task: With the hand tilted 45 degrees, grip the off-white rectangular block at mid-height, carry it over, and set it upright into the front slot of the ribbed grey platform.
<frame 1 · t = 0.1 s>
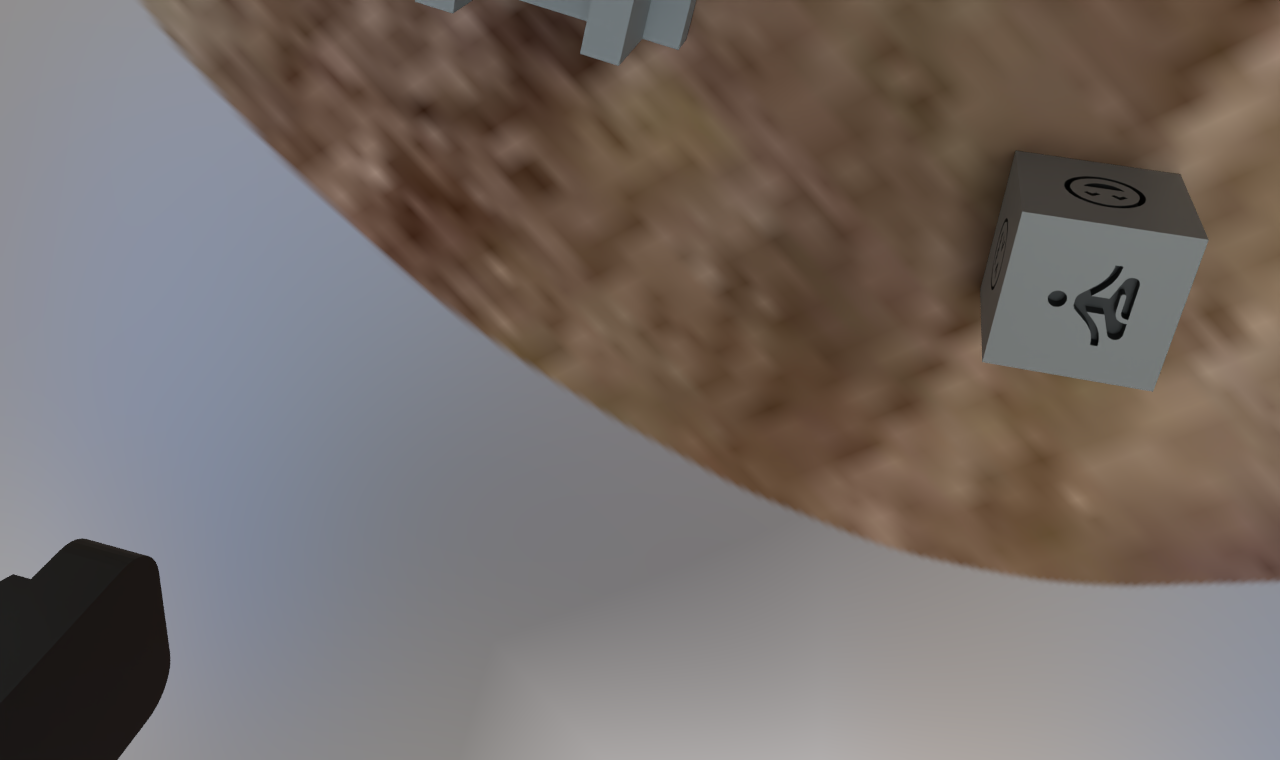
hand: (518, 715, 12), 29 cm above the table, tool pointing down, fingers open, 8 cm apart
dice cube: (1075, 231, 38), on the table
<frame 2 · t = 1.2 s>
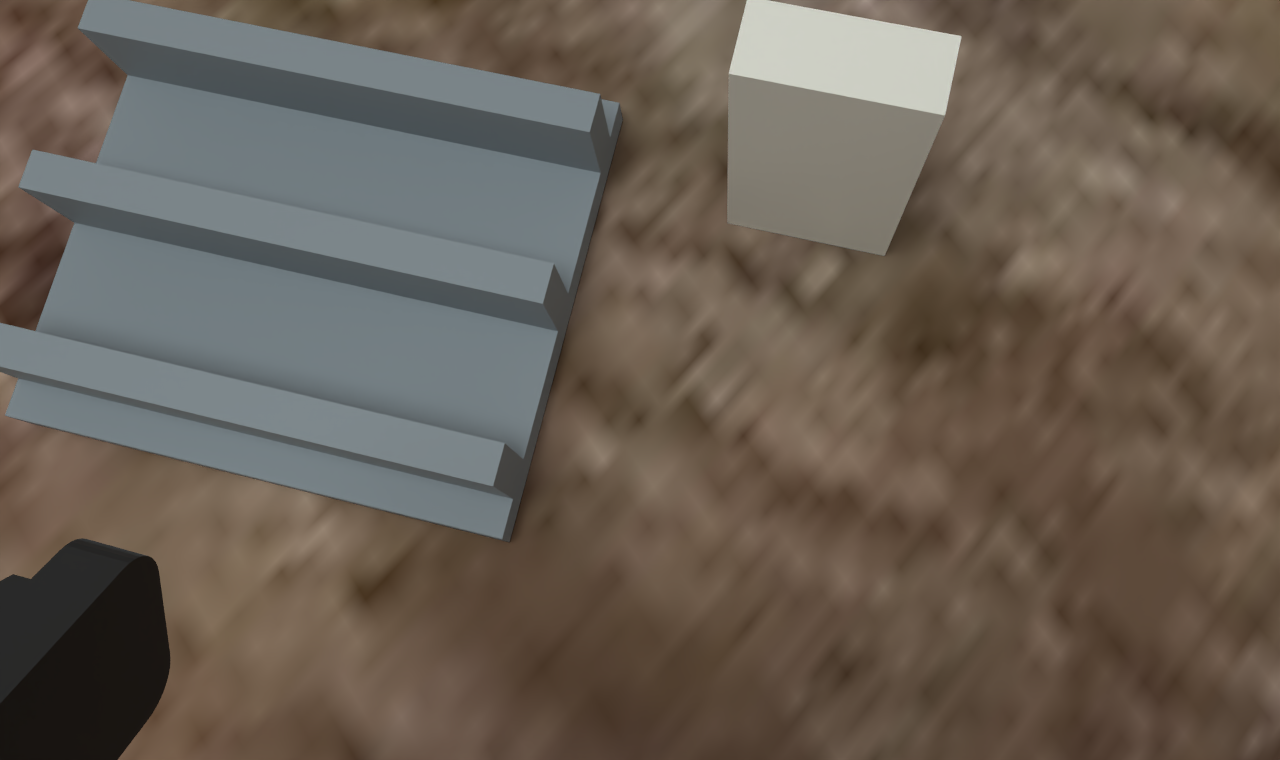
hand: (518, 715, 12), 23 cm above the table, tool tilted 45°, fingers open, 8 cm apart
ribbed grey platform: (328, 269, 37), on the table
off-white rectangular block: (812, 209, 36), on the table
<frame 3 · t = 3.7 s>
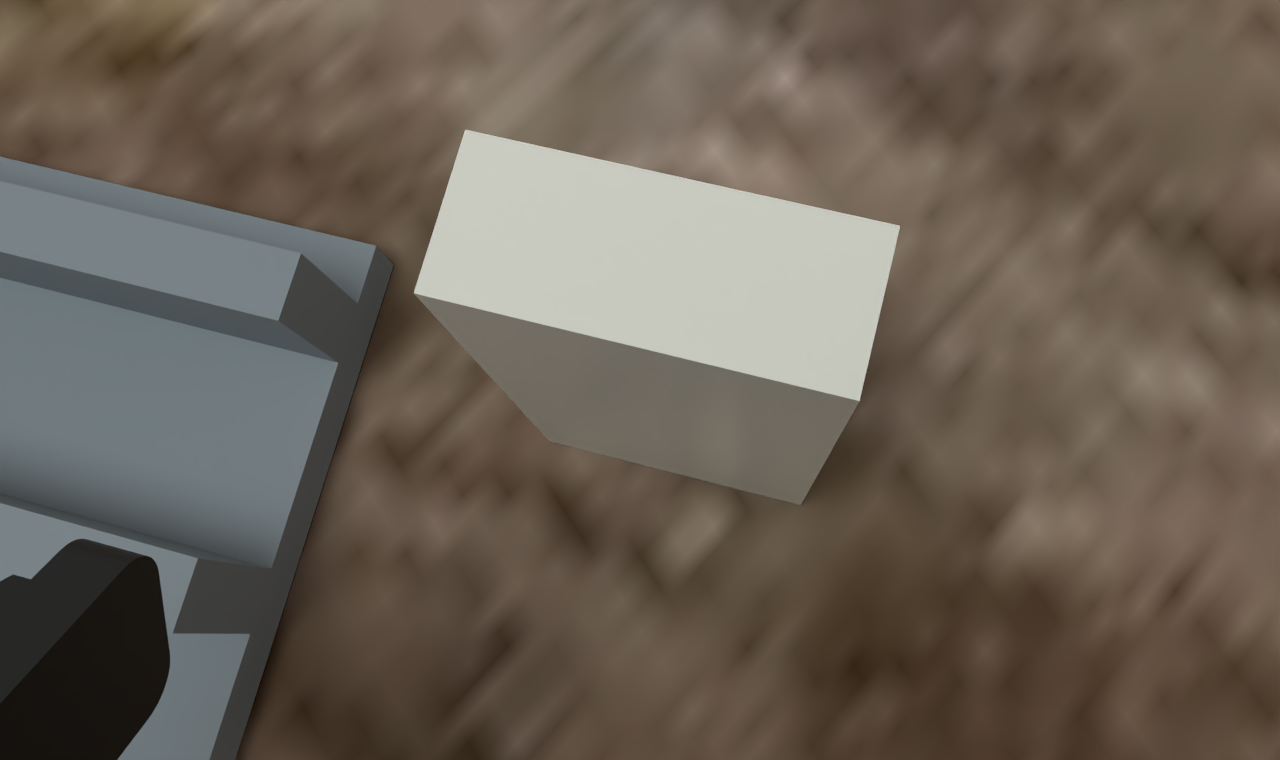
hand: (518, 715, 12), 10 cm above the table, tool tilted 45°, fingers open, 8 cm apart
off-white rectangular block: (686, 423, 22), on the table
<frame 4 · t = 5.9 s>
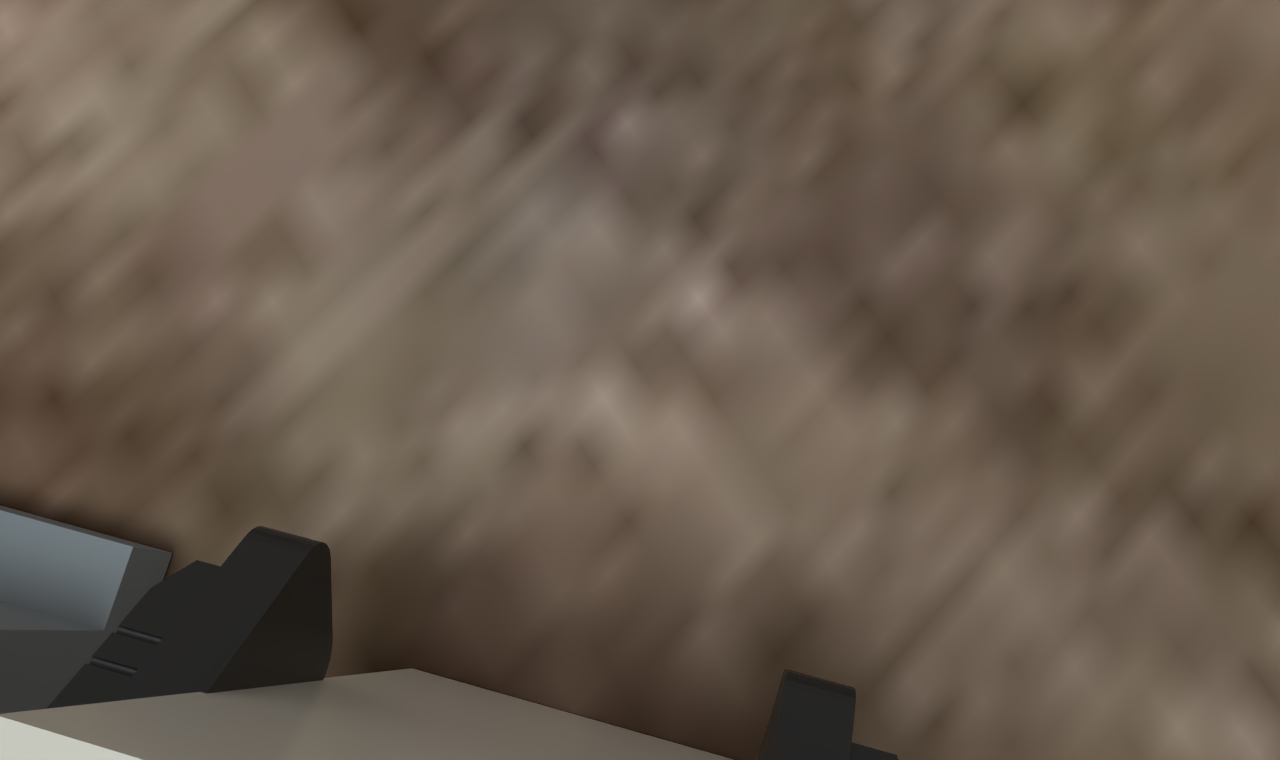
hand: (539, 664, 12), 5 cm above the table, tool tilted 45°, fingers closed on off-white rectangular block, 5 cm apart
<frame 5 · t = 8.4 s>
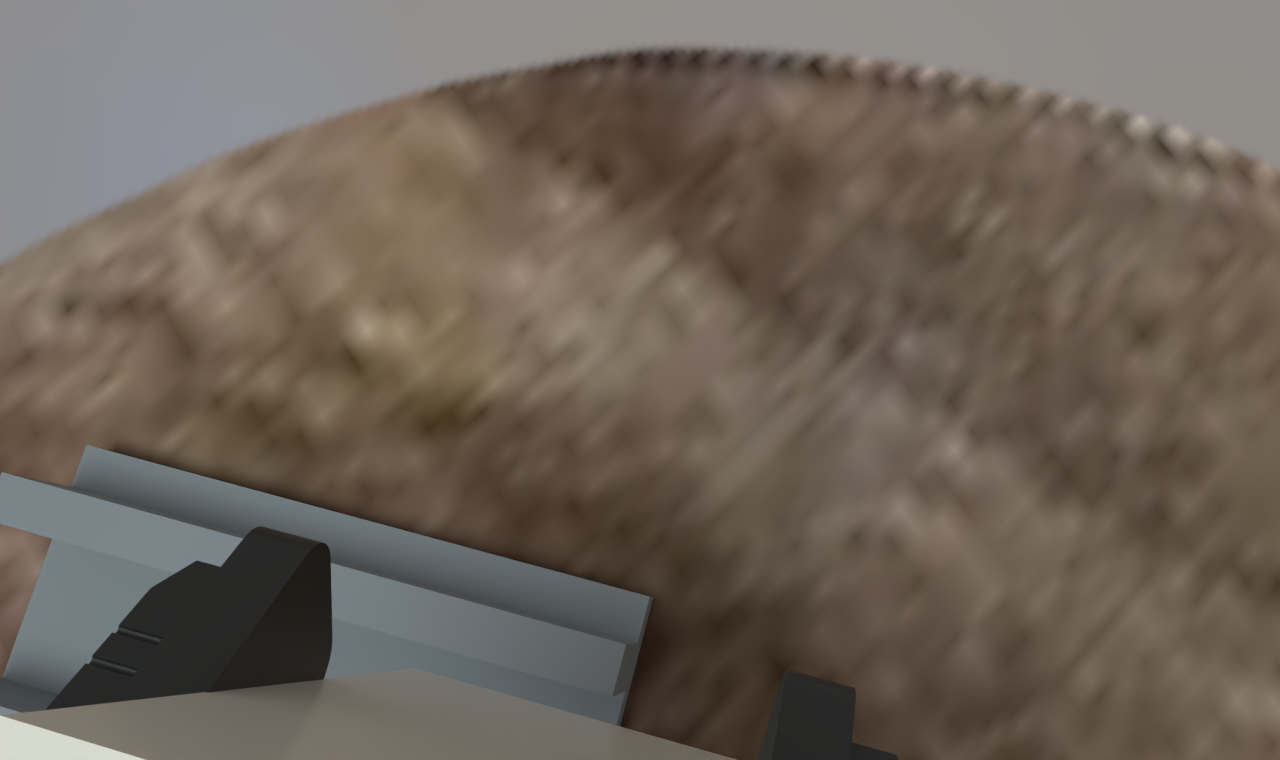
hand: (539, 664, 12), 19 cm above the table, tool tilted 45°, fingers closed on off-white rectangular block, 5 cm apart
when the fingers open (7 cm above the table, at t = 11.1 s): off-white rectangular block stays where it is, resting on ribbed grey platform.
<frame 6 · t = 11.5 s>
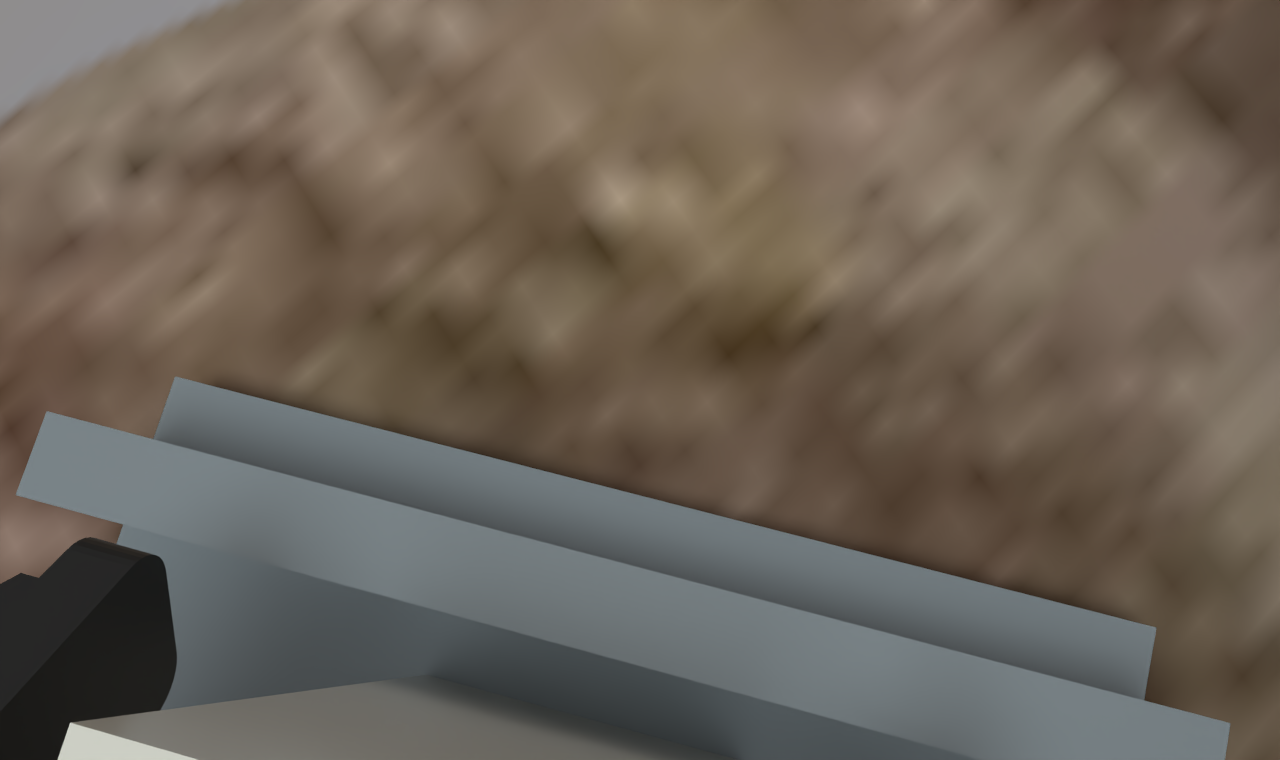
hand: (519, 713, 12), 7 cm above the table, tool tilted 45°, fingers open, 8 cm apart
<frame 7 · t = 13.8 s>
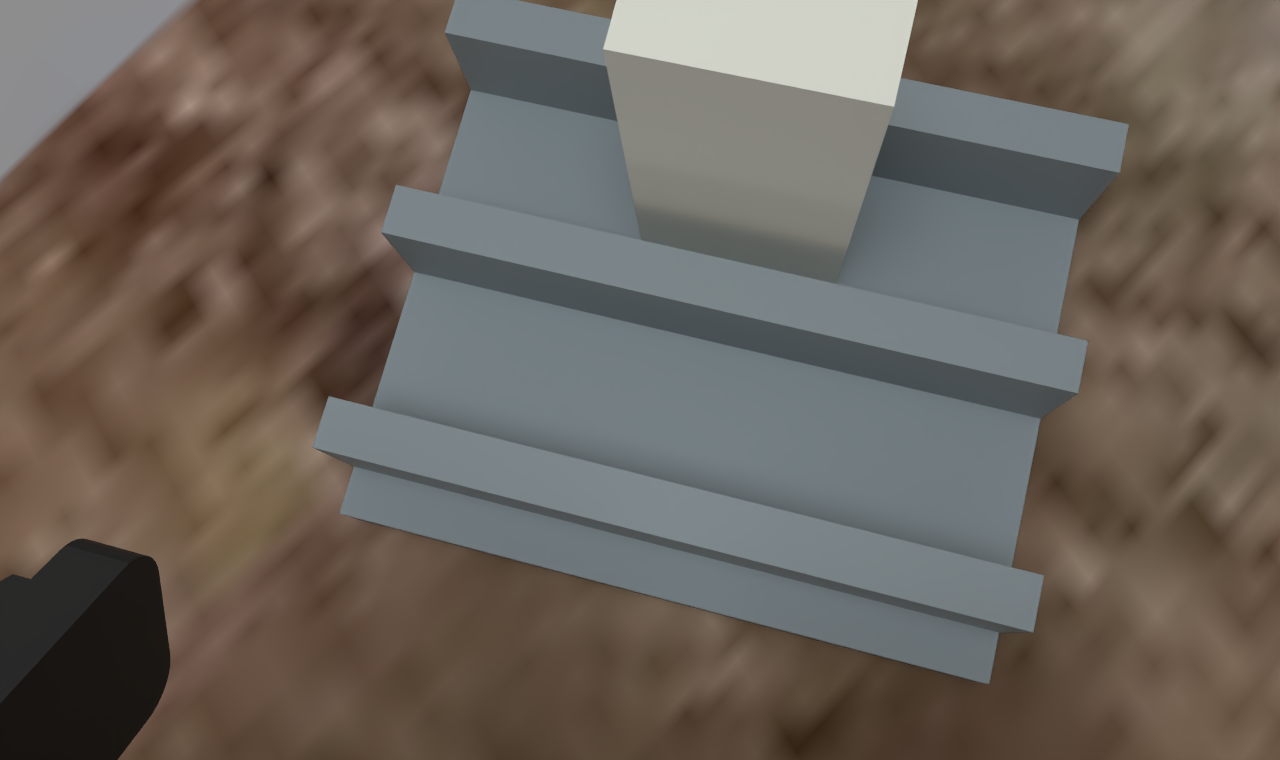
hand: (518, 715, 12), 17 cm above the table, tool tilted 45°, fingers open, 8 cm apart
ribbed grey platform: (722, 332, 30), on the table
off-white rectangular block: (746, 227, 29), point 1 cm above the table, touching ribbed grey platform
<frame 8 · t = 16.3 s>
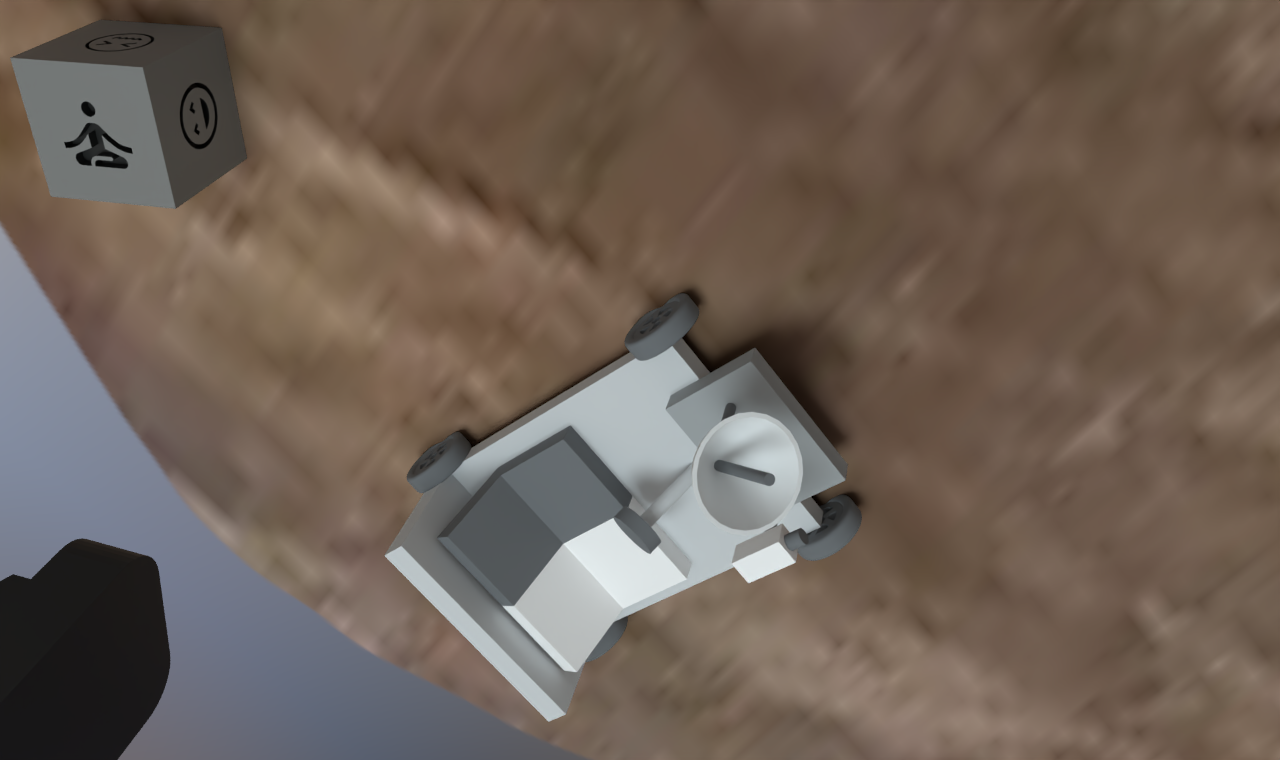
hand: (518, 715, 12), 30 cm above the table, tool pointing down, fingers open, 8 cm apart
toy car: (659, 456, 48), on the table
dice cube: (178, 88, 44), on the table
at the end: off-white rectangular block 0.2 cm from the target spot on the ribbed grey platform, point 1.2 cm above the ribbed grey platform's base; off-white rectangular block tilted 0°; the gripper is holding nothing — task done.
